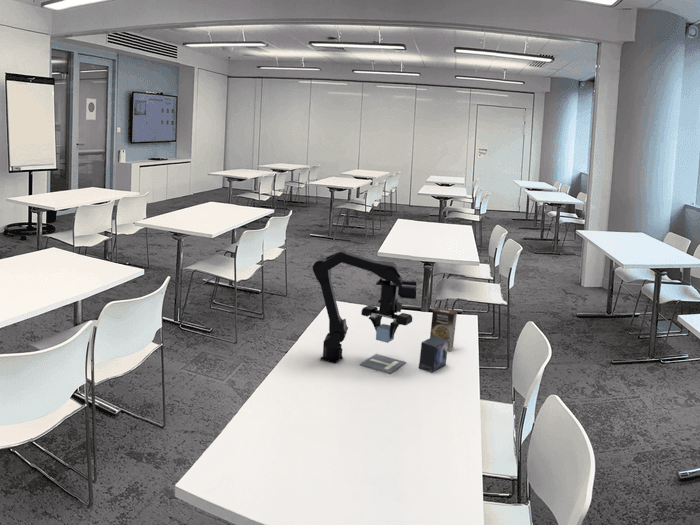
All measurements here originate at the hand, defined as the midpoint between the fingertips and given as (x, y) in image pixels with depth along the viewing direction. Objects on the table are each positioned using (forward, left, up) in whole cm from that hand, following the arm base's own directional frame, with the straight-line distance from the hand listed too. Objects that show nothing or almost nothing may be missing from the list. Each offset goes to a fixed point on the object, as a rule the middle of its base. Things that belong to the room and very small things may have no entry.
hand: (385, 336), depth 218 cm
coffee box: (+11, +31, -11) cm, 35 cm away
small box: (+16, +10, -11) cm, 22 cm away
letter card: (0, 0, -11) cm, 11 cm away
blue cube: (0, 0, -1) cm, 1 cm away
